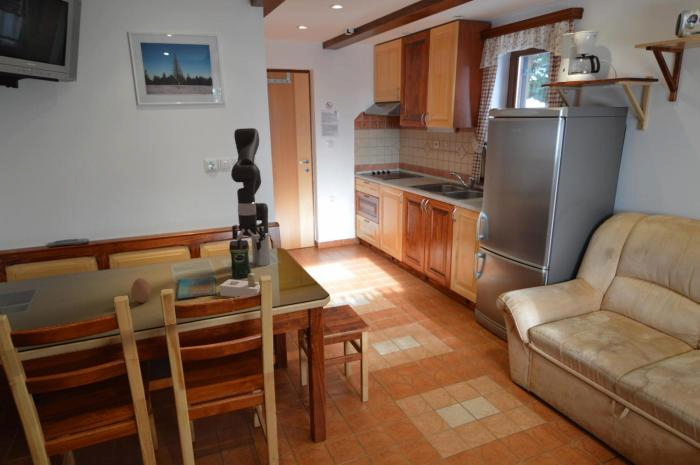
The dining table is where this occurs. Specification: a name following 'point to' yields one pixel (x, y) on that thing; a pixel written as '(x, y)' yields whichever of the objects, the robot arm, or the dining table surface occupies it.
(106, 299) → the dining table surface
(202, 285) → the book
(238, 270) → the coffee jar
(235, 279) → the mat
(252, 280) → the peg
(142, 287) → the egg
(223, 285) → the block
